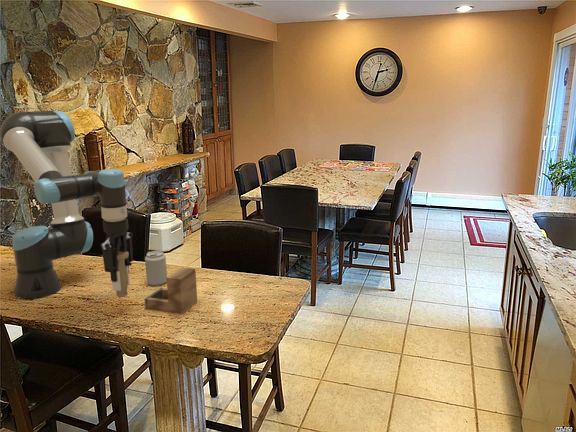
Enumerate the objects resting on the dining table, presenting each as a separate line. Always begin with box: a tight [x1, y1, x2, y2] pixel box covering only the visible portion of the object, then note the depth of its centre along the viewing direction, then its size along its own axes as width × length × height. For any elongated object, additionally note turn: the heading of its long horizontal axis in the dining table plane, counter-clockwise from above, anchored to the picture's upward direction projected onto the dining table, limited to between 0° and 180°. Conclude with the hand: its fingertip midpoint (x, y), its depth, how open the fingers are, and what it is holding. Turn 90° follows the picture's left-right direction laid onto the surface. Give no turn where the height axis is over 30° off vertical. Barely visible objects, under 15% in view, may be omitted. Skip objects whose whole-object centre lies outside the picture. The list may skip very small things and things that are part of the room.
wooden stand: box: [144, 266, 198, 315], centre depth 158 cm, size 14×10×12 cm
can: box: [144, 250, 168, 287], centre depth 177 cm, size 8×8×12 cm
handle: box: [115, 251, 129, 298], centre depth 153 cm, size 5×6×15 cm
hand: (121, 287), depth 154 cm, fingers closed on handle, 4 cm apart
